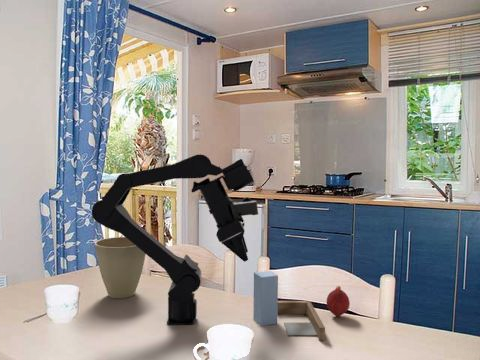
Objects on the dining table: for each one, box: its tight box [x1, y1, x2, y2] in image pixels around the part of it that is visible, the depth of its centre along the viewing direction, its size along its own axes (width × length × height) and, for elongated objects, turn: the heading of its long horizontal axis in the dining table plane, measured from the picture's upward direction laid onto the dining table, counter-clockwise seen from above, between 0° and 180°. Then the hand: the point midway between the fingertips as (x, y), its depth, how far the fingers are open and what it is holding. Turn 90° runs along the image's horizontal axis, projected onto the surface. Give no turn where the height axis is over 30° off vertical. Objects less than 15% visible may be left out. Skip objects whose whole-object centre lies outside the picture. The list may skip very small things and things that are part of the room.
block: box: [252, 270, 279, 327], centre depth 100 cm, size 4×4×12 cm
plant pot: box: [94, 236, 147, 299], centre depth 119 cm, size 15×15×16 cm
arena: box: [278, 300, 326, 342], centre depth 98 cm, size 9×17×3 cm, turn 1°
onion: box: [326, 285, 351, 318], centre depth 104 cm, size 6×6×8 cm
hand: (246, 256), depth 100 cm, fingers open, 9 cm apart
